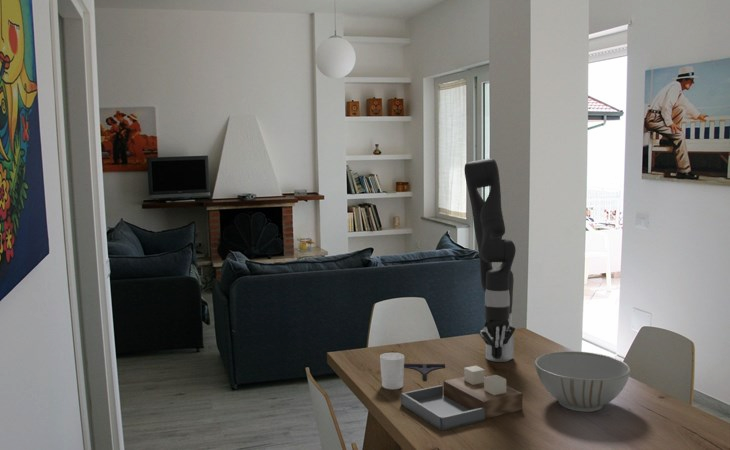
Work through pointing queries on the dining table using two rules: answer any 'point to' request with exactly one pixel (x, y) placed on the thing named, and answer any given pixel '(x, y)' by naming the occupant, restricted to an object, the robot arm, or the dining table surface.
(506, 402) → the walnut board
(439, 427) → the tray
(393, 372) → the white cup
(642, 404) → the dining table surface
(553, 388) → the decorative bowl
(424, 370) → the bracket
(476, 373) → the cream cube
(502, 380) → the off-white cube
